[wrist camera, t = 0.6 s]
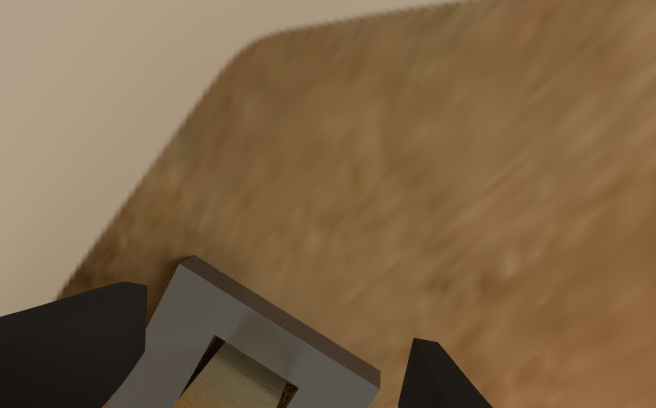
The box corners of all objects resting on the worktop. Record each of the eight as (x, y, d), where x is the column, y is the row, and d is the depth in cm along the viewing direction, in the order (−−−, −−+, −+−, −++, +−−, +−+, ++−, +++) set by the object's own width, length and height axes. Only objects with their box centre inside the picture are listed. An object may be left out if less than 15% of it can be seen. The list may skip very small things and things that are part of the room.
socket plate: (291, 498, 22) (285, 523, 21) (124, 389, 23) (106, 405, 21) (380, 371, 20) (379, 388, 19) (193, 255, 21) (179, 263, 19)
